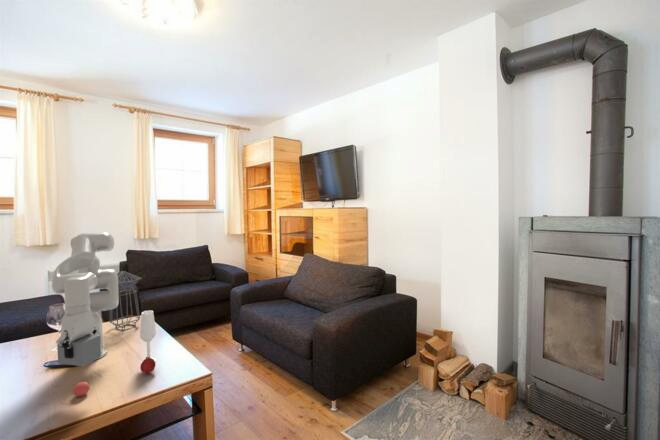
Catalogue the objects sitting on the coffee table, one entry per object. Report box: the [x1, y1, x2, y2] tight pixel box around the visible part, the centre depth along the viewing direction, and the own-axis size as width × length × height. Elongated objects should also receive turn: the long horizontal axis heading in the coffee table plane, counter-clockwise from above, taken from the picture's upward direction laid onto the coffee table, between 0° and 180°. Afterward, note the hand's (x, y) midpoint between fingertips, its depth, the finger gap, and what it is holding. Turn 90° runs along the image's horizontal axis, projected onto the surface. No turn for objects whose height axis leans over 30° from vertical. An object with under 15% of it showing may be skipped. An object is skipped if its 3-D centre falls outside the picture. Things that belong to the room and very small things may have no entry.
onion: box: [139, 356, 156, 375], centre depth 140 cm, size 6×6×8 cm
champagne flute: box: [139, 310, 158, 364], centre depth 151 cm, size 7×7×24 cm
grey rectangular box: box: [56, 334, 102, 367], centre depth 124 cm, size 11×8×9 cm
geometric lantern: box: [109, 270, 143, 332], centre depth 194 cm, size 16×16×35 cm
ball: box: [72, 381, 90, 397], centre depth 124 cm, size 5×5×5 cm
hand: (79, 352), depth 124 cm, fingers closed on grey rectangular box, 7 cm apart
